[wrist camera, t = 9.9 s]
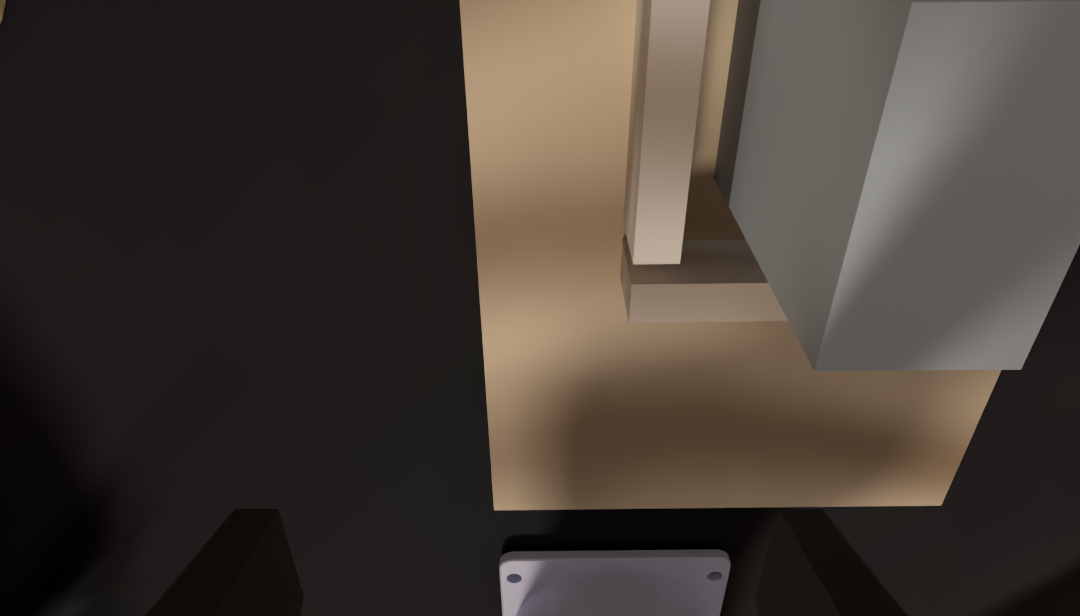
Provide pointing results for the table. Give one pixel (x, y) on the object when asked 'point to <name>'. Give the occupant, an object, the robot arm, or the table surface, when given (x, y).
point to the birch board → (657, 288)
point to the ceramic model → (2, 8)
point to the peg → (906, 173)
